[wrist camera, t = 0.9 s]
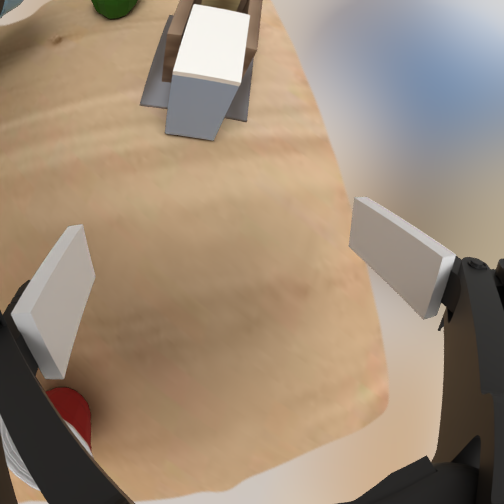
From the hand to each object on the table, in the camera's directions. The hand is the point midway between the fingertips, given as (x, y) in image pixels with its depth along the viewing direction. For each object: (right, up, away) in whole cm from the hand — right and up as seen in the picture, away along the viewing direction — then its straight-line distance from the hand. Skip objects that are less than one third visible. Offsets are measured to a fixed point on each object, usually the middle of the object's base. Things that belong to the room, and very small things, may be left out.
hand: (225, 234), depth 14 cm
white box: (-6, +18, +22) cm, 29 cm away
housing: (-6, +26, +24) cm, 35 cm away
